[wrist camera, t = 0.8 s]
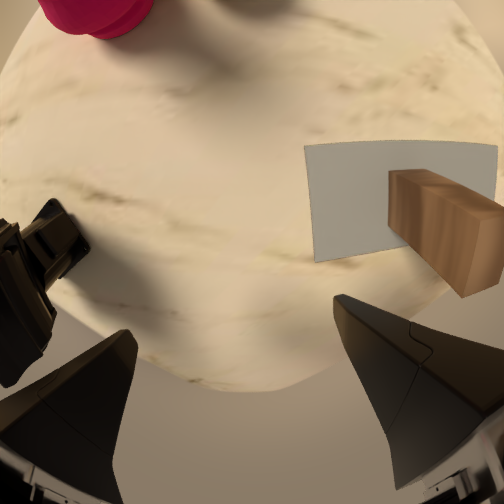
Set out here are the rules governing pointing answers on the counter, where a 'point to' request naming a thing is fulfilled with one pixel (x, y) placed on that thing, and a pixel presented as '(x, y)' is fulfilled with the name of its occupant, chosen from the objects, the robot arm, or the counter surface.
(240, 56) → the counter surface
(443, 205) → the walnut block
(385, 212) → the strip
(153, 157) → the counter surface
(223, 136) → the counter surface
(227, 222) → the counter surface
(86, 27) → the pepper mill
